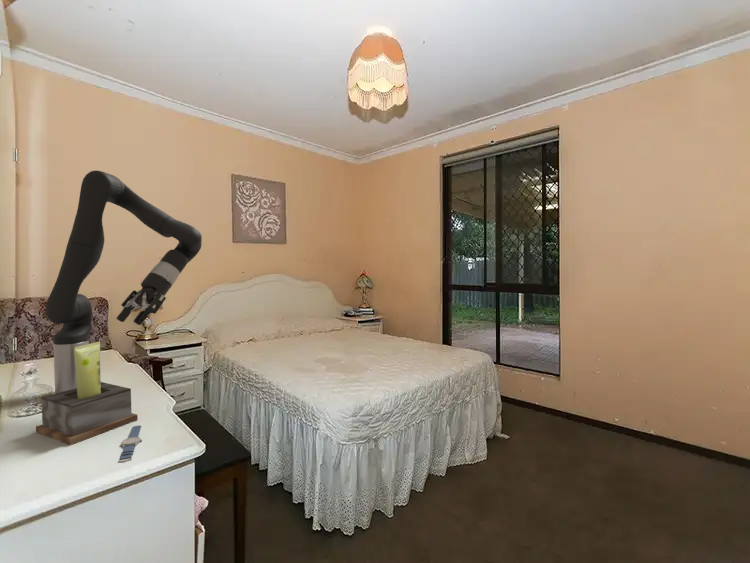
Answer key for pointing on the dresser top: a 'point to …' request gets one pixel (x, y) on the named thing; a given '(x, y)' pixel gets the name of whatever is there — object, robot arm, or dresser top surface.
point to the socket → (85, 413)
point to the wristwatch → (130, 444)
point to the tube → (88, 370)
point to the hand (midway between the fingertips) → (127, 322)
